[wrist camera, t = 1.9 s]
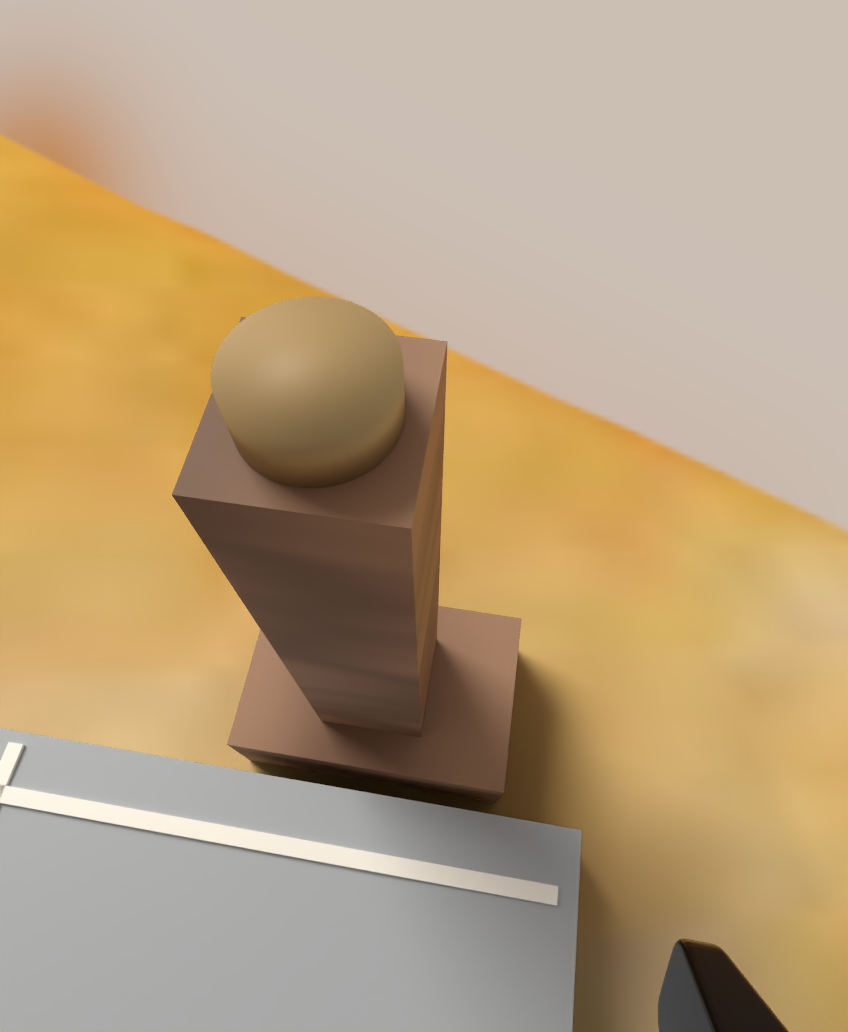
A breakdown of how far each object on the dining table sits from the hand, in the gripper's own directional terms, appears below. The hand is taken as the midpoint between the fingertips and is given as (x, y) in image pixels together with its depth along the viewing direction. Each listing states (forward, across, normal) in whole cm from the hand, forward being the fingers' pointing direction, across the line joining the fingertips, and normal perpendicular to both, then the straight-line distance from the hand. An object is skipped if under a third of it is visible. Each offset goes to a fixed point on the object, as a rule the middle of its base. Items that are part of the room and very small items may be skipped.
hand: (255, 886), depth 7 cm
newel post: (+12, 0, +5) cm, 13 cm away
